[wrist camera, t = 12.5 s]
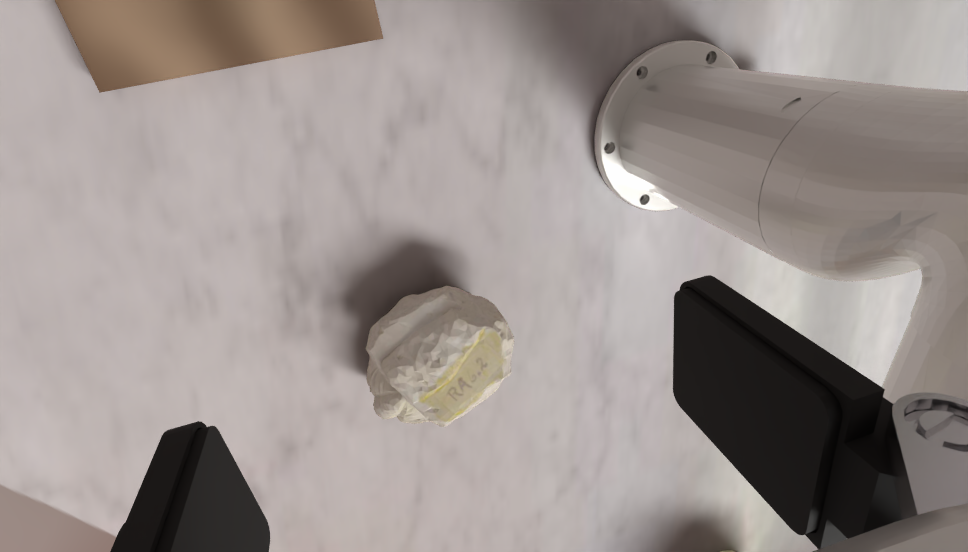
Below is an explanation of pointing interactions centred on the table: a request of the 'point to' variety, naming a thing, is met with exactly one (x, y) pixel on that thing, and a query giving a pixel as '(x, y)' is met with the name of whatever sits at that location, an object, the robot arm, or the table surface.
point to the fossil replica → (437, 356)
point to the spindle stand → (206, 34)
